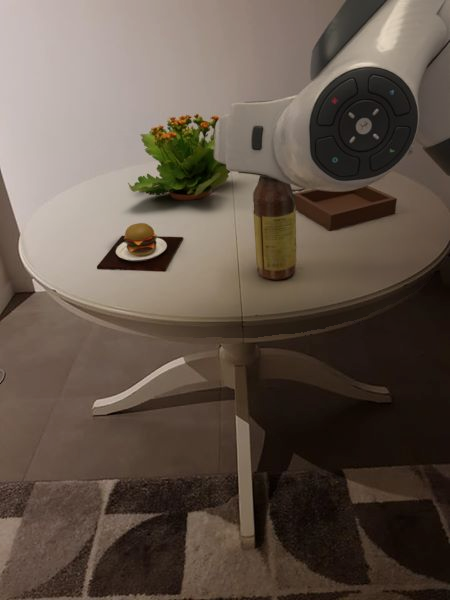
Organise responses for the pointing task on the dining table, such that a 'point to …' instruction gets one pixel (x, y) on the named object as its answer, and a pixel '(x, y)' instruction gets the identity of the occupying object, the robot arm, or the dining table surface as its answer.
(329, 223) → the serving tray
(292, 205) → the sauce bottle
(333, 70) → the robot arm
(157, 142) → the potted flower
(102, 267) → the hamburger
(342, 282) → the dining table surface
